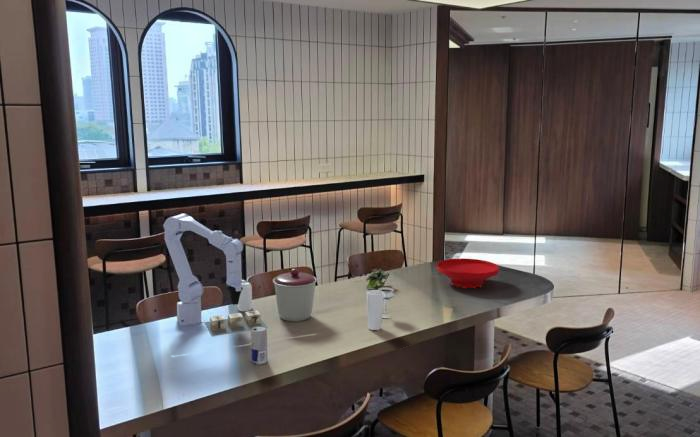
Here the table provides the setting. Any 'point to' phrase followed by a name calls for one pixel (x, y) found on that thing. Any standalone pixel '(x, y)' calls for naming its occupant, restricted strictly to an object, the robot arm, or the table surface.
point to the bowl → (467, 271)
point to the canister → (294, 295)
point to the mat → (232, 330)
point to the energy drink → (259, 345)
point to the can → (245, 297)
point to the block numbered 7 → (252, 317)
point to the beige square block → (217, 322)
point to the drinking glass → (374, 308)
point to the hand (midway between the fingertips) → (235, 303)
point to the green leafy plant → (377, 278)
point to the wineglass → (387, 297)
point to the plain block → (235, 320)
